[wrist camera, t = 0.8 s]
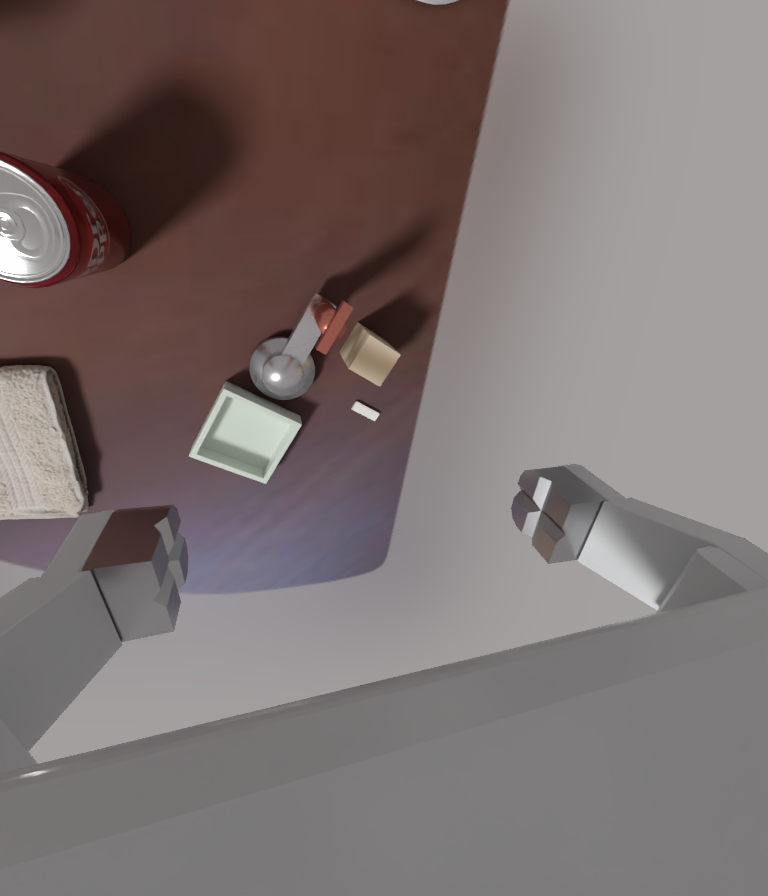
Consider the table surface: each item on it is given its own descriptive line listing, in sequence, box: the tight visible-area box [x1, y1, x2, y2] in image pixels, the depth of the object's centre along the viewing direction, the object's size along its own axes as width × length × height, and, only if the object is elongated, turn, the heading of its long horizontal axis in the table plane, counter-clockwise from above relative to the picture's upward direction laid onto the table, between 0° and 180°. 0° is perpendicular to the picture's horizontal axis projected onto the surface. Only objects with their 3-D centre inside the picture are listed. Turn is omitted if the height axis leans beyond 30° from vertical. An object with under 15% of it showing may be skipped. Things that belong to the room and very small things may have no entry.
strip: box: [351, 401, 380, 421], centre depth 48 cm, size 1×4×1 cm, turn 55°
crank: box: [262, 291, 353, 396], centre depth 36 cm, size 12×4×10 cm, turn 145°
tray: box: [189, 381, 302, 484], centre depth 44 cm, size 9×9×2 cm
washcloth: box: [0, 365, 89, 520], centre depth 38 cm, size 12×18×3 cm, turn 172°
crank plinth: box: [250, 336, 315, 400], centre depth 42 cm, size 7×7×1 cm
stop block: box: [339, 322, 400, 386], centre depth 41 cm, size 4×4×6 cm
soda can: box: [0, 152, 131, 288], centre depth 27 cm, size 7×7×12 cm
